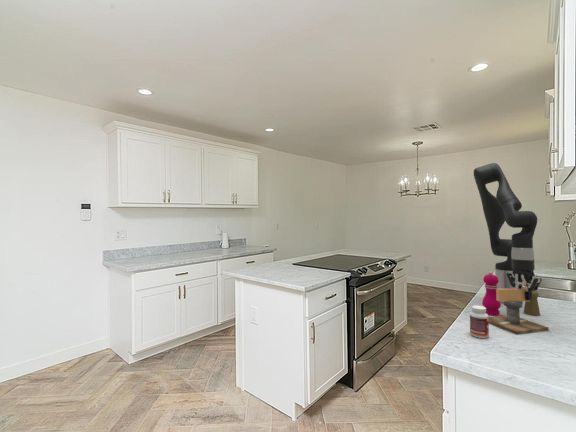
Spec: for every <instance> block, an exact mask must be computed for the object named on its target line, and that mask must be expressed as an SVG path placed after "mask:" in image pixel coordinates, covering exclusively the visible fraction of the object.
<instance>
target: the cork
mask: <svg viewBox="0 0 576 432" xmlns="http://www.w3.org/2000/svg"><path fill="white" fill-rule="evenodd" d="M539 294H540V293H539V292H538V290H537V291H532V299H531V300H530V302H524V308H523V314H524V315H528V316H532V317H533V316H534V317H540V316H541V311H540V307H539V301H538V298H539V297H540V295H539Z"/></svg>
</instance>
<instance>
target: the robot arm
mask: <svg viewBox="0 0 576 432" xmlns="http://www.w3.org/2000/svg"><path fill="white" fill-rule="evenodd" d="M473 177H474V181H475V183H476V186H477V190H478V194H479V197H480V202H481V205H482V210H483V214H484V218H485V222H486V224H487V225H486V226H487V230H488V234H489V244H490V249H491V252H492V254H493V256H495V257H496V256H497V257H507V258H506V259H505V260H503V261H501V262H500V261H499V262H495V264H494V266H495V271H494V272H495V274H494V275H495V276H497V277H498V280H499V282H498V284H497V288H522V287H525V300H527V301H530V300H531V299H532V291H537V292H538V289H539V288H540V285H541V283H542V281H543V279H542V278H541V277H537V276H536V274H535V272H534V271H535V269H536V268H535V251H534V240H533V238H534V235H535V231H536V227H537V225H538V216H537V214H536V213H535V212H534V211H532V210H531V211H530V210H521V209H522V207H523V204H522V202H521V201H520V200H519V197H517V196H516V194H515V193H514V191H513V190H512V188H511V186H510V184H509V181H508V180H507V177H506V175H505V174H504V171H503V170H502V168H501V167H500V165H499V164H498V163H496V162H492V163H489V164H485V165H482V166H478V167H476V168H474V169H473ZM495 182H498V187H497V191H496V196H495V195H493V194H492V193H491V192H490V191H489V190H488V188H487V185H488V184H491V183H495ZM505 222H506V224H507V226H509V227H511V228H516V229H517V228H520V229H521V230H520V231H519V232H516V233H513V234H512V235H511V238H507V239H506V238H500V236H499V235H500V230H501V229H502V227H503V225H504V224H505ZM500 304H504V302H500Z"/></svg>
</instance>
